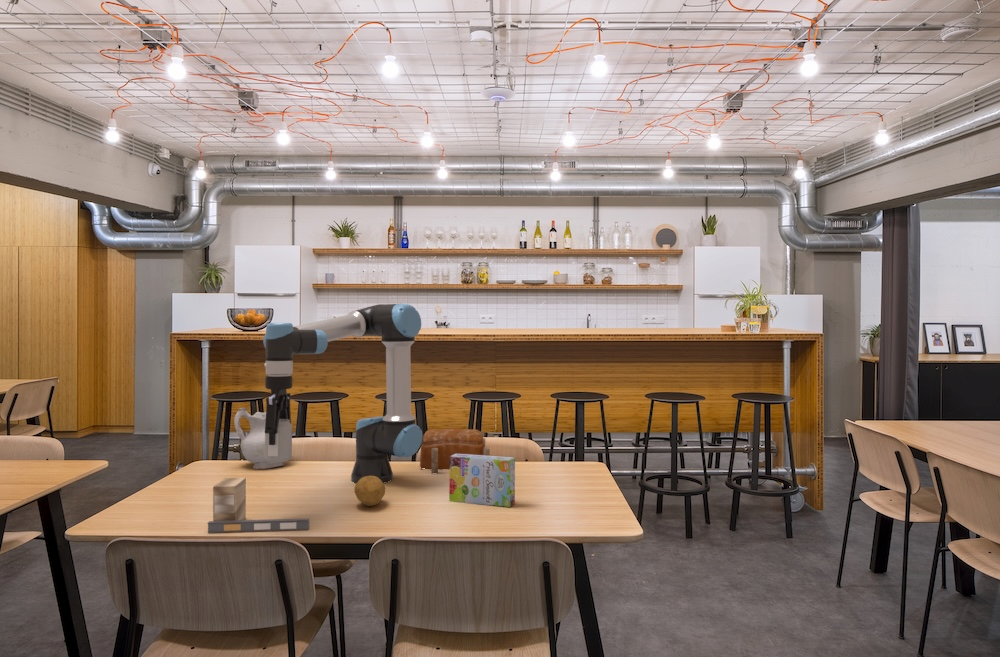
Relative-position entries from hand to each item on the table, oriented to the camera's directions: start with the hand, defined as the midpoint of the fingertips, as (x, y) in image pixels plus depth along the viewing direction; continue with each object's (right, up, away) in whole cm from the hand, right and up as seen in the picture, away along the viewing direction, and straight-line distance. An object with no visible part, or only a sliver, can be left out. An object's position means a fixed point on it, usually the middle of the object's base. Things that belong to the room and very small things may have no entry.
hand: (278, 453), depth 187 cm
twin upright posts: (+49, -20, +69) cm, 87 cm away
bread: (+46, -20, +70) cm, 86 cm away
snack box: (+59, -20, +20) cm, 65 cm away
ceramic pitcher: (-30, -20, +68) cm, 77 cm away
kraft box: (-13, -20, -3) cm, 24 cm away
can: (0, -2, 0) cm, 2 cm away
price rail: (-2, -20, -9) cm, 22 cm away
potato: (+24, -20, +16) cm, 35 cm away
